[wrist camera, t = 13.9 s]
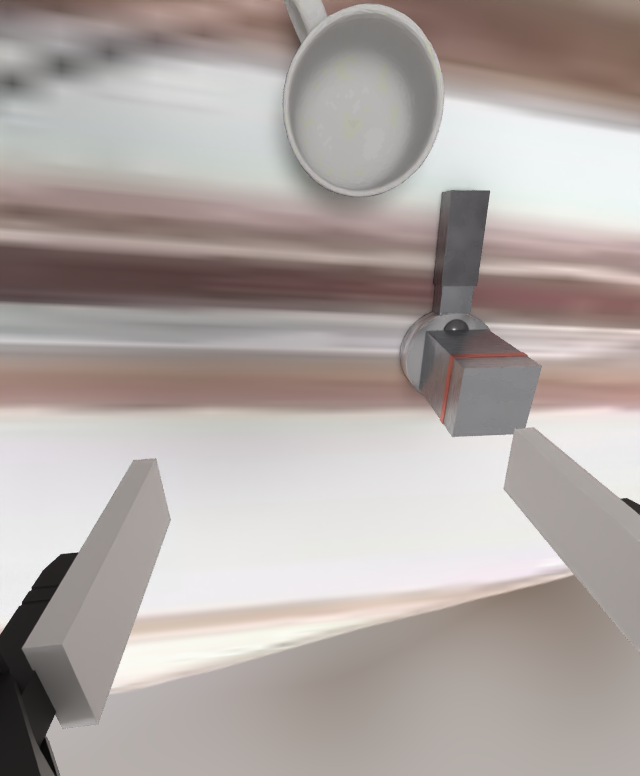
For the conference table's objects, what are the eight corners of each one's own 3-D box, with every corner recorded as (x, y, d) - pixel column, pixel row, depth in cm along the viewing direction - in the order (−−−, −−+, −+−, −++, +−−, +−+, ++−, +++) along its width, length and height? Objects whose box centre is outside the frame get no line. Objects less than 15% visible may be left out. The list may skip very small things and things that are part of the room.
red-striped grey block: (418, 388, 40) (451, 437, 32) (425, 330, 38) (463, 367, 29) (476, 386, 41) (524, 434, 33) (488, 328, 38) (542, 365, 30)
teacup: (426, 172, 35) (463, 156, 28) (313, 223, 36) (320, 221, 29) (373, -20, 30) (401, -102, 23) (243, 44, 31) (230, -14, 24)
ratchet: (411, 192, 36) (442, 183, 29) (508, 192, 36) (560, 184, 29) (397, 393, 43) (418, 424, 36) (477, 390, 44) (514, 420, 37)
